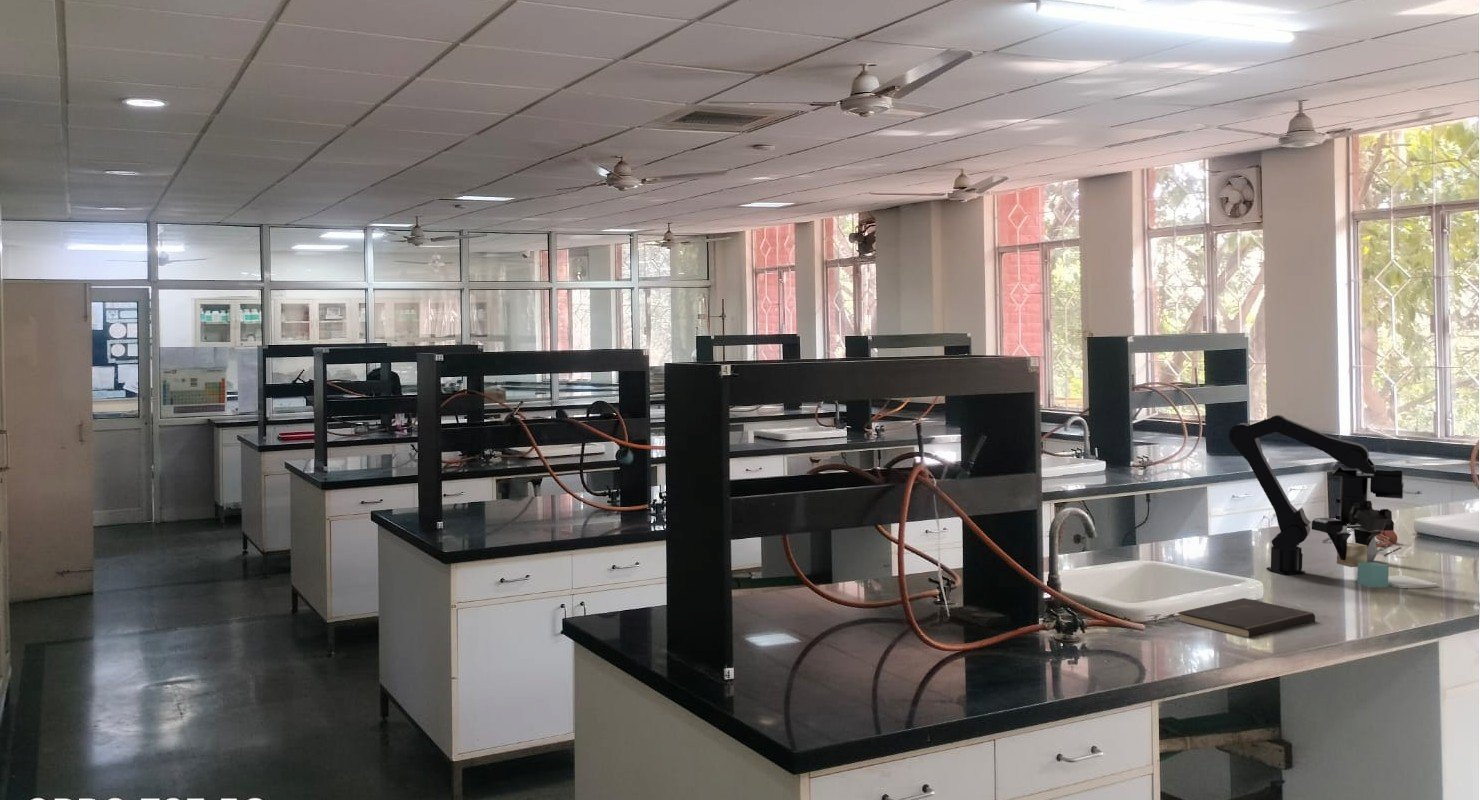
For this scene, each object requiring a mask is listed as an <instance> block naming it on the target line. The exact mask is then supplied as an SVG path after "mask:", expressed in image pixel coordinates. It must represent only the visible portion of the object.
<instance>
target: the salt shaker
mask: <svg viewBox="0 0 1480 800" xmlns="http://www.w3.org/2000/svg"><path fill="white" fill-rule="evenodd" d="M1376 542H1377V541H1376V537H1374V538H1373V539H1372V540H1371V542H1370V544H1369V546H1368V548H1367V562H1375V559H1376V557H1377V555H1378V553H1377V552H1378V551H1377V550H1378V547H1377V546H1376ZM1353 543H1355V538H1354V540H1353Z"/></svg>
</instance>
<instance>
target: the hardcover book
mask: <svg viewBox="0 0 1480 800" xmlns="http://www.w3.org/2000/svg"><path fill="white" fill-rule="evenodd" d="M1177 614H1178V615H1180V616H1179V621H1180V622H1183V623H1186V624H1187V623H1188V624H1191V625H1196V626H1200V627H1204V628H1207V629H1208V628H1209V629H1213V630H1216V631H1221V632H1224V633H1228V634H1232V635H1236V636H1242V637H1245V638H1248V639H1251V638H1255V637H1259V636H1263V635H1267V634H1271V633H1275V632H1278V631H1284V630H1286V629H1291V628H1295V627H1299V626H1303V625H1307V624H1311V623H1315V622H1316V615H1315V613H1314V612H1312V611H1306V610H1301V609H1297V608H1293V607H1287V606H1283V605H1282V606H1281V605H1278V604H1274V603H1273V604H1272V603H1268V602H1263V601H1261V600H1260V601H1259V600H1255V599H1249V598H1244V597H1242V598H1237V599H1233V600H1229V601H1224V602H1220V603H1214V604H1210V605H1207V606H1206V605H1205V606H1202V607H1201V606H1200V607H1197V608H1196V607H1195V608H1193V609H1185V610H1182V611H1179V612H1177Z"/></svg>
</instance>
